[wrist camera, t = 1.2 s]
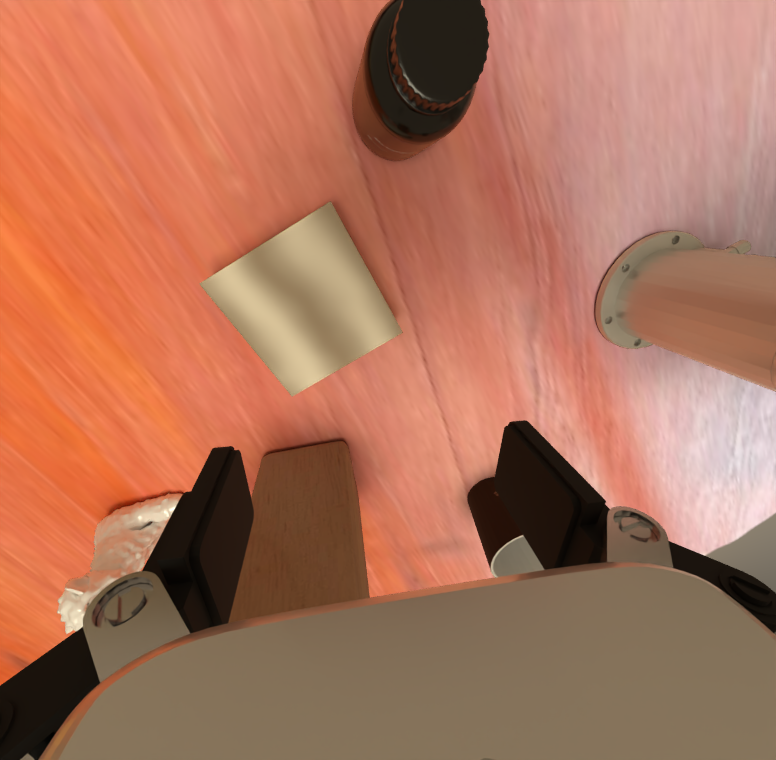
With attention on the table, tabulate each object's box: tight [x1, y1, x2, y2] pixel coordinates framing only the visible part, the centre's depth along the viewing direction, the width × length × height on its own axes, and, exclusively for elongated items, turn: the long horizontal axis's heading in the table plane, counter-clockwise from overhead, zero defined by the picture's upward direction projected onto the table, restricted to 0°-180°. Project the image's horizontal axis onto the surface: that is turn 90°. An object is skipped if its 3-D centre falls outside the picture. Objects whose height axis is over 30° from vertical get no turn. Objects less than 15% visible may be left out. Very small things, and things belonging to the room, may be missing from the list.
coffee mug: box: [468, 477, 544, 577], centre depth 44 cm, size 12×9×10 cm
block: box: [228, 441, 370, 623], centre depth 32 cm, size 10×10×20 cm
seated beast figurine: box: [57, 493, 183, 634], centre depth 34 cm, size 10×9×12 cm
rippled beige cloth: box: [200, 201, 403, 396], centre depth 30 cm, size 12×12×4 cm
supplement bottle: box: [352, 0, 489, 161], centre depth 21 cm, size 7×7×12 cm
